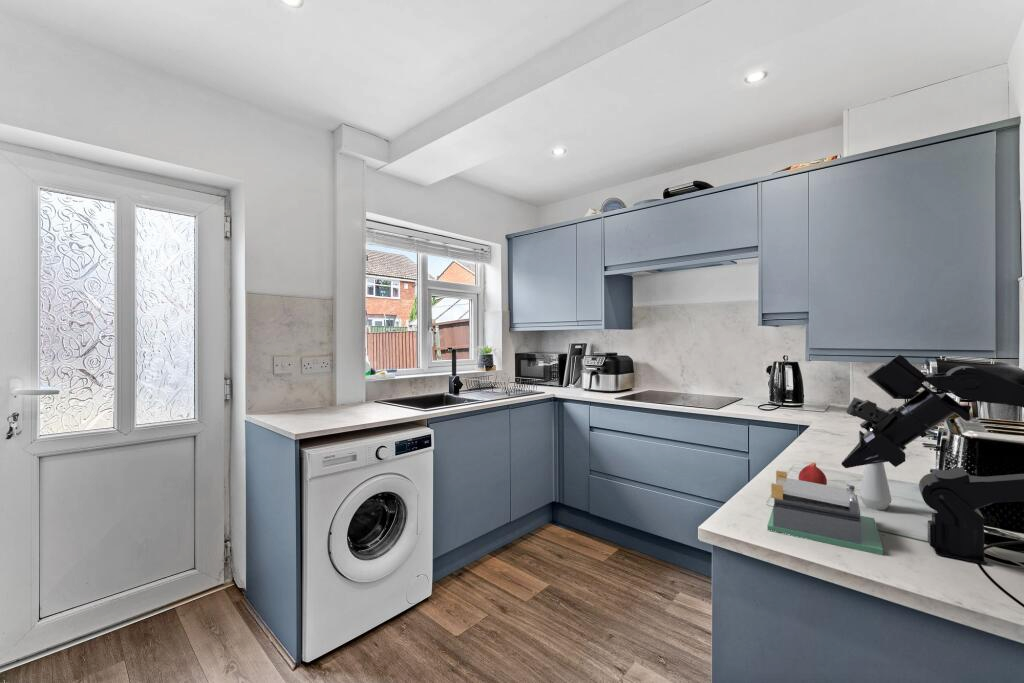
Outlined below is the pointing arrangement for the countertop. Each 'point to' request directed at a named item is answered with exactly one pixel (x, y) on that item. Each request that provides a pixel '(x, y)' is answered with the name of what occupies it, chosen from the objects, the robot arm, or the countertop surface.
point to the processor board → (868, 540)
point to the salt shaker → (875, 487)
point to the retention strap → (817, 491)
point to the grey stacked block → (816, 515)
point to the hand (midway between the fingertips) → (843, 465)
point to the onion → (812, 474)
